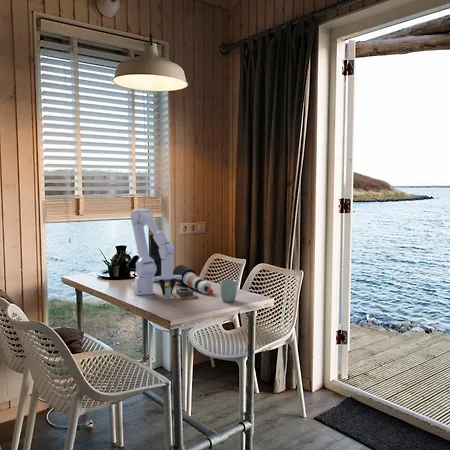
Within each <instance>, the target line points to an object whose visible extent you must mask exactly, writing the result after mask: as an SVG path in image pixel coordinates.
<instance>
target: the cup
mask: <svg viewBox="0 0 450 450" xmlns="http://www.w3.org/2000/svg"><path fill="white" fill-rule="evenodd" d="M219 285H220V288H219V289H220V290H219V291H220V292H219V293H220V299H221V301H222V302H225V303H233V302H234V301H235V300H236V297H237V293H238V292H237V291H238V288H237V286H238V283H237V280H235V279H221V280H220V284H219Z"/></svg>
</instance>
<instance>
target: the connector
mask: <svg viewBox="0 0 450 450" xmlns="http://www.w3.org/2000/svg"><path fill="white" fill-rule="evenodd" d="M162 296H163V299H164V300H172V295H171V287H170V284H169V283H165V295H163V294H162Z"/></svg>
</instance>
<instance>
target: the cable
mask: <svg viewBox="0 0 450 450" xmlns="http://www.w3.org/2000/svg"><path fill="white" fill-rule="evenodd" d="M173 275H181V276H182V279H176V283H178V284H180V285H181V286H183V287H184V288H190V289H191V288H192V289H193V290H196V291H198V292H200V293H202V294H204V295H206V294H208V293H209V294H213V293H214V290H213V289H212V286H211V284H210V283H209V282H208V281H206V280H204V279H203V278H202V277H200V276H199V275H197V273H196V271H195V270H193V269H191V268H189V267H188V266H186V265H184V264H179V265H177V266H175V267H174V268H173Z"/></svg>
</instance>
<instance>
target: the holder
mask: <svg viewBox="0 0 450 450" xmlns="http://www.w3.org/2000/svg"><path fill="white" fill-rule="evenodd" d="M171 297H173V298H174V299H175V300H176V301H181V300H183V301H184V300H194V299H199V296H198V295H197V294H196V293H194V290H192V289H191V287H181V288H180V287H179V288H176V289H175V292H172V294H171Z"/></svg>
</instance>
